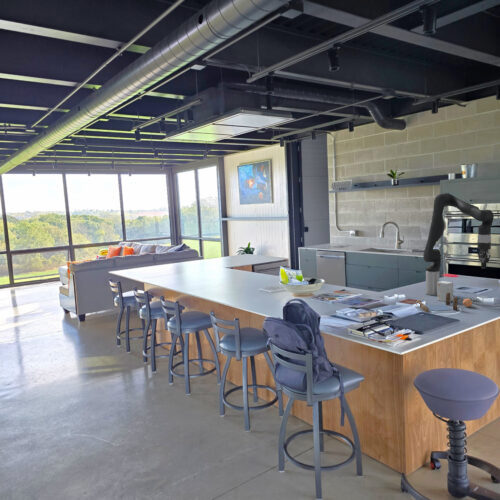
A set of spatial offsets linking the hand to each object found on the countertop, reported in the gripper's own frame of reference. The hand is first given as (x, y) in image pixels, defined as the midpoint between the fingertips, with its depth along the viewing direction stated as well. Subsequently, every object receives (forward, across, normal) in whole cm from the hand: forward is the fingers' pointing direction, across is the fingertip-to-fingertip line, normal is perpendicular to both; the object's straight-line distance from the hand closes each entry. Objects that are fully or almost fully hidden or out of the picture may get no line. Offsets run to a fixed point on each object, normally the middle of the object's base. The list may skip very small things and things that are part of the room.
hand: (483, 268), depth 275 cm
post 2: (+25, +6, -20) cm, 32 cm away
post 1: (+25, -6, -20) cm, 32 cm away
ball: (+22, 0, -10) cm, 24 cm away
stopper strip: (+25, 0, -38) cm, 45 cm away
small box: (+25, -18, -18) cm, 35 cm away
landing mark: (+25, 0, -28) cm, 38 cm away
